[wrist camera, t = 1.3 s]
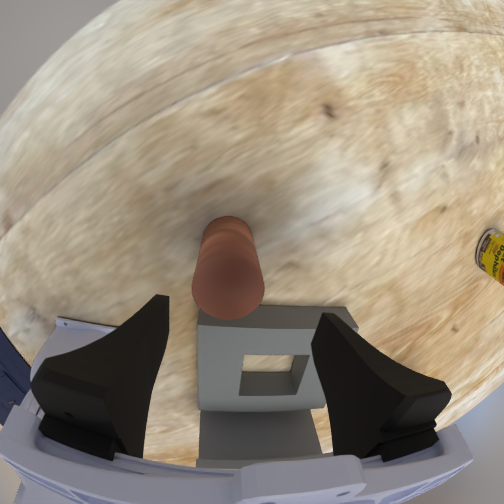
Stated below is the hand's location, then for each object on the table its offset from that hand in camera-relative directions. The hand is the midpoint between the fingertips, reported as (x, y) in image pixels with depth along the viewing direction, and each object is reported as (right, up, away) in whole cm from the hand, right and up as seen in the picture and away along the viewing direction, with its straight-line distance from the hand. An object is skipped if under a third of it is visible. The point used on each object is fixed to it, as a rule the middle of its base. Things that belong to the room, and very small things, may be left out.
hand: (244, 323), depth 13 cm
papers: (-43, -22, +18) cm, 52 cm away
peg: (-2, +4, +10) cm, 11 cm away
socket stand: (+2, -10, +16) cm, 19 cm away
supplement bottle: (+30, +4, +13) cm, 33 cm away
